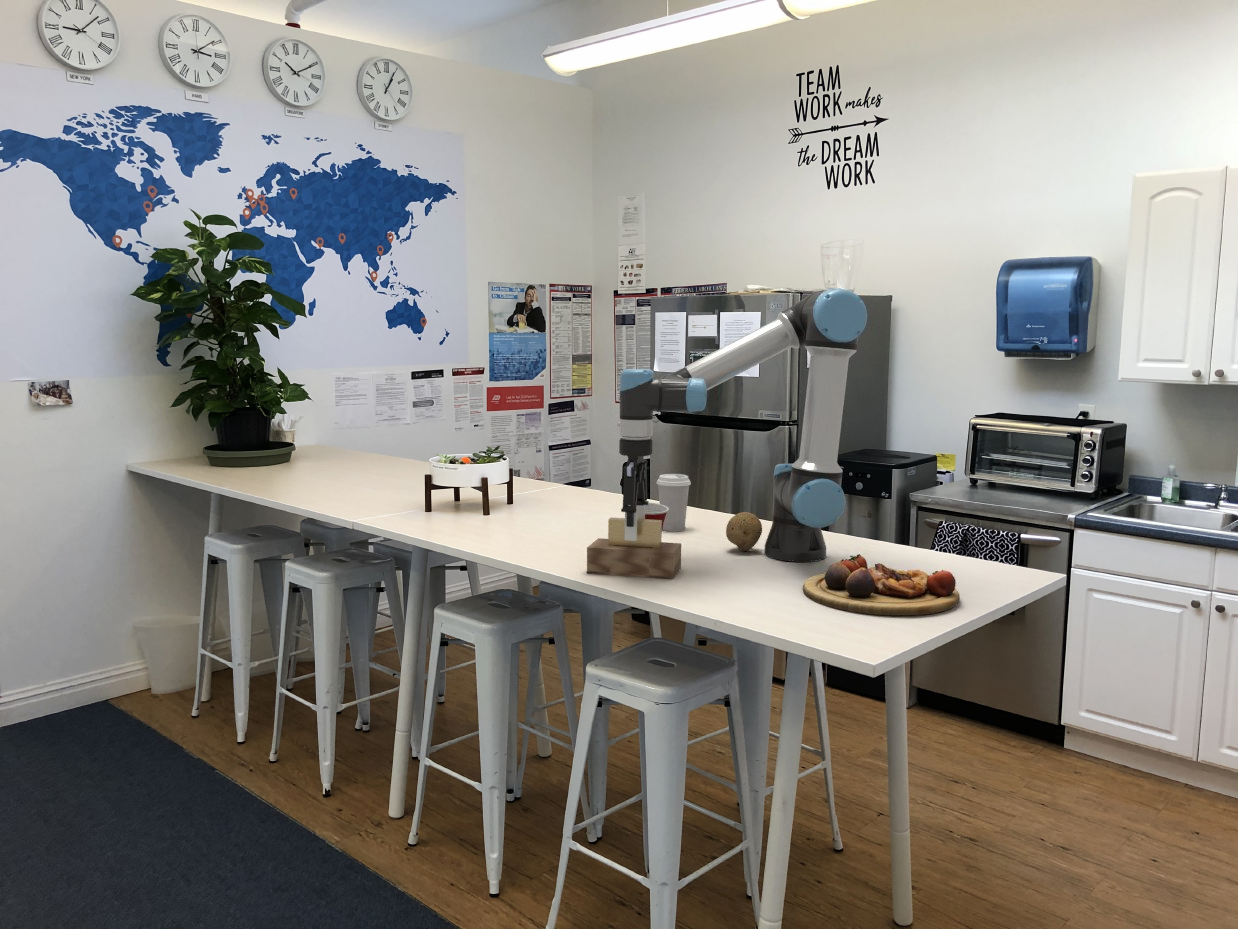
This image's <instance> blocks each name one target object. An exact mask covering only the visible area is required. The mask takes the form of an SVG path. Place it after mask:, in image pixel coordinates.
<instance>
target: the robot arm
mask: <svg viewBox="0 0 1238 929" xmlns="http://www.w3.org/2000/svg"><path fill="white" fill-rule="evenodd" d="M867 322H868V312H867V307H866V305H865V302H864V301H863V300H862V298H861V297H860V296H859V295H858V294H857V293H855V292H854V291H851V290H848V289H845V288H839V287H838V288H830V289H826V290H824V289H822V290H817V291H815V292H813V293H810V294H808V295H807V296H806V297H804V298H802V299H801V300H799V301H798V302H796V303H794V304H793V305H791V306H789V307H788V308H786V309H784V310H782V311H781V312H778V314H777V318H776V319H775V320H773V321H770V322H769V323H766V324H765V325H763V326H761V327H758V329H755V330H754V331H752V332H751V331H750V333H747V334H746V335H744V336H742V337H740V338H737V339H736V340H734V341H732V342H730V343H728V344H727V345H724V346H723V347H720V348H719V349H717V350H715V351H713V352H711V353H709V354H707V355H705V356H703V357H701V358H699V359H697V360H695V361H693V362H692V363H690V364H688V365H686V366H684V367H682V368H680V369H678V370H677V371H674V372H672V373H668V374H665V375H663V376H662V377H659V378H658V377H655V375H654V370H652V369H649V368H648V369H647V368H645V369H644V368H628V369H627V368H626V369H623V370H622V372H620V377H619V378H620V381H619V422H617V426H618V427H619V436H620V439H619V442H618V443H619V444H618V446H619V447H618V448H619V451H618V453H619V454H620V455H621V456H624V457H625V456H626V457H627V463H625V466H623V489H622V490H623V491H622V494H623V495H622V508H621V509H620V510H621V513H624V518H625V540H629V541H637V519H645V506H643V505H648V503H649V501H648V482H647V479H648V477H647V476H648V475H647V468H648V467H647V465H648V459H645V458H644V457H648V456H649V457H650V456H652V454H653V439H652V438H651V437H653V435H654V416H653V415H654V412H684V413H685V412H686V413H693V412H702V411H704V410H705V409H706V405H707V397H708V396H707V395H708V393H707V391H709V390H711V389H713V388H715V387H716V386H718V385H720V384H722V383H724V382H726V381H729V380H730V379H732V378H734V377H736V376H738V375H740V374H743V373H744V372H746V371H748V370H750V369H751V368H754V367H756V366H758V365H759V364H762V363H764V362H765V361H767V360H770V359H772V358H773V357H775V356H777V355H779V354H781V353H783V352H785V351H786V350H788V349H790V348H792V349H794V350H795V349H796V350H798V349H800V348H801V347H804V348H805V349H806V351H807V352H808V353H809V355H810V359H809V367H808V375H807V376H808V377H807V386H806V392H805V393H806V395H805V404H804V412H803V420H802V431H801V438H800V448H799V457H798V458H797V459H796V460H795V461H794V462H793V463H778V464H776V465H775V467H774V471H773V494H772V523H771V526H770V528H769V529H770V530H769V532H768V534H767V538H766V540H765V543H764V549H763V550H764V551H763V552H764V555H765V556H766V557H768V558H771V559H774V560H779V561H785V562H798V563H799V562H800V563H802V562H803V563H805V562H807V563H808V562H816V561H820V560H824V559H826V557H827V545H826V542H825V538H824V534H823V531H822V528H826V527H828V526H830V525H833V524H834V523H835V522H836V521H838V519H840V518H841V516H842V515H843V513H844V510H845V507H846V496H845V493H844V490H843V488H842V482H843V481H842V479H843V472H844V471H843V469H842V467H841V466H840V465H839V464H838V456H839V455H838V454H839V448H840V446H839V445H840V438H841V429H842V421H843V412H844V405H845V404H844V403H845V396H846V395H845V394H846V388H847V387H846V386H847V379H848V368H849V360H850V358H851V357H853V355H854V354H855V353H857V350H858V342H859V336H861V334H862V333H863V331H864V330H865V328H866V326H867ZM628 505H631V506H628Z"/></svg>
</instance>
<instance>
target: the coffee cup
mask: <svg viewBox="0 0 1238 929" xmlns="http://www.w3.org/2000/svg"><path fill="white" fill-rule="evenodd" d="M656 485H657V487H658V501H659V503H658V504H661V505H664V506H667V507H668V508H669V511H668V512H667V514H666V516H665V520H664V524H663V529H662V531H664V532H683V531H685V528H686V519H687V508H688V499H689V490H690V485H692V483H691V480H690V478H689V475H687V474H682V473H681V474H680V473H665V474H660V475H659V477H658V479H657V480H656Z"/></svg>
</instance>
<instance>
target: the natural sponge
mask: <svg viewBox="0 0 1238 929" xmlns="http://www.w3.org/2000/svg"><path fill="white" fill-rule="evenodd" d="M725 529H726V530H725V535H726V538H727V540H728V541H729V542H730V543H731V544H733V545H735V546H736V547H737V548H738V549H739V550H740V551H743V552H746V551H749V550H752V548H754V547H755V546H756V544H757V543H758V541H759V540H760V538H761V536H762V533H763V524H762V521H761V520H760V519H759V517H758V516H756V514H753V513H751V512H749V511H748V512H747V511H743V512H739V513H736V514H735V515H733V516H732V517H731V518H729V521H728V522H727V525H726V528H725Z"/></svg>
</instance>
